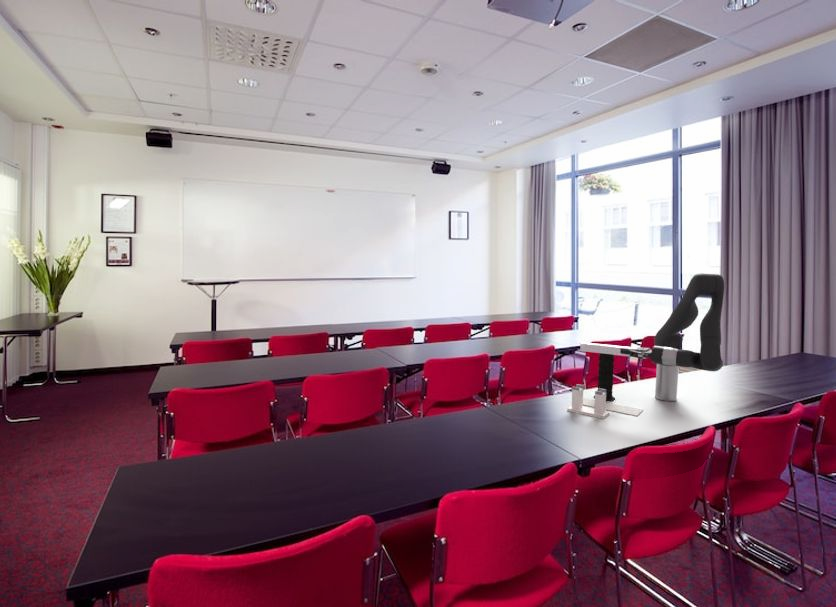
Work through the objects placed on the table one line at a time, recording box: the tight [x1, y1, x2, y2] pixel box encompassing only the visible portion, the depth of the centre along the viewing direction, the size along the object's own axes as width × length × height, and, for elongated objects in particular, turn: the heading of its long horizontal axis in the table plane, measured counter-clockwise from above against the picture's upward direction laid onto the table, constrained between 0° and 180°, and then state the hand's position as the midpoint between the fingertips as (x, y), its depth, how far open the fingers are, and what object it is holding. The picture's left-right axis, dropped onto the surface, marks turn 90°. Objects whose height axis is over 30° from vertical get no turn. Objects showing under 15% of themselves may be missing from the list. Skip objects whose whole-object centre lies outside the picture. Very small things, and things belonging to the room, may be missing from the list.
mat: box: [583, 397, 644, 417], centre depth 209 cm, size 10×28×1 cm, turn 50°
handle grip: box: [593, 353, 616, 402], centre depth 220 cm, size 10×26×10 cm
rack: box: [567, 383, 610, 420], centre depth 200 cm, size 7×16×11 cm, turn 50°
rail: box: [580, 341, 638, 358], centre depth 204 cm, size 24×4×4 cm, turn 50°
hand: (622, 350), depth 200 cm, fingers closed on rail, 3 cm apart
